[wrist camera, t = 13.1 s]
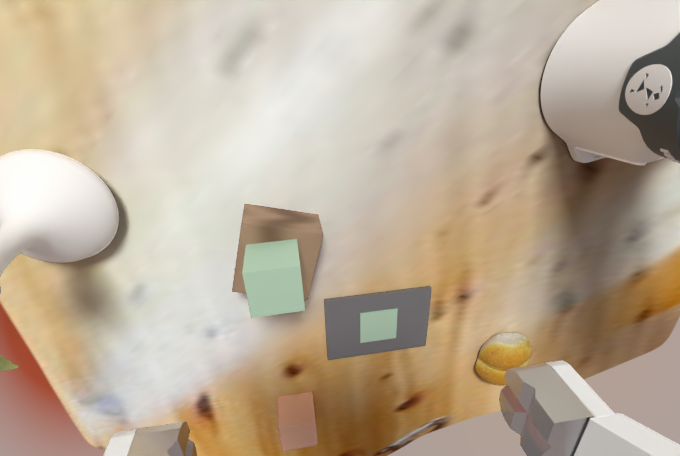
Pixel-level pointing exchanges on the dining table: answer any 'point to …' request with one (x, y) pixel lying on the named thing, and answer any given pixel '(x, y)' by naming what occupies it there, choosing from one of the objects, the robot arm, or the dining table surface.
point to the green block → (273, 278)
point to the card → (376, 322)
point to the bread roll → (502, 356)
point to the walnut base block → (280, 238)
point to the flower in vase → (52, 210)
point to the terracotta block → (297, 421)
